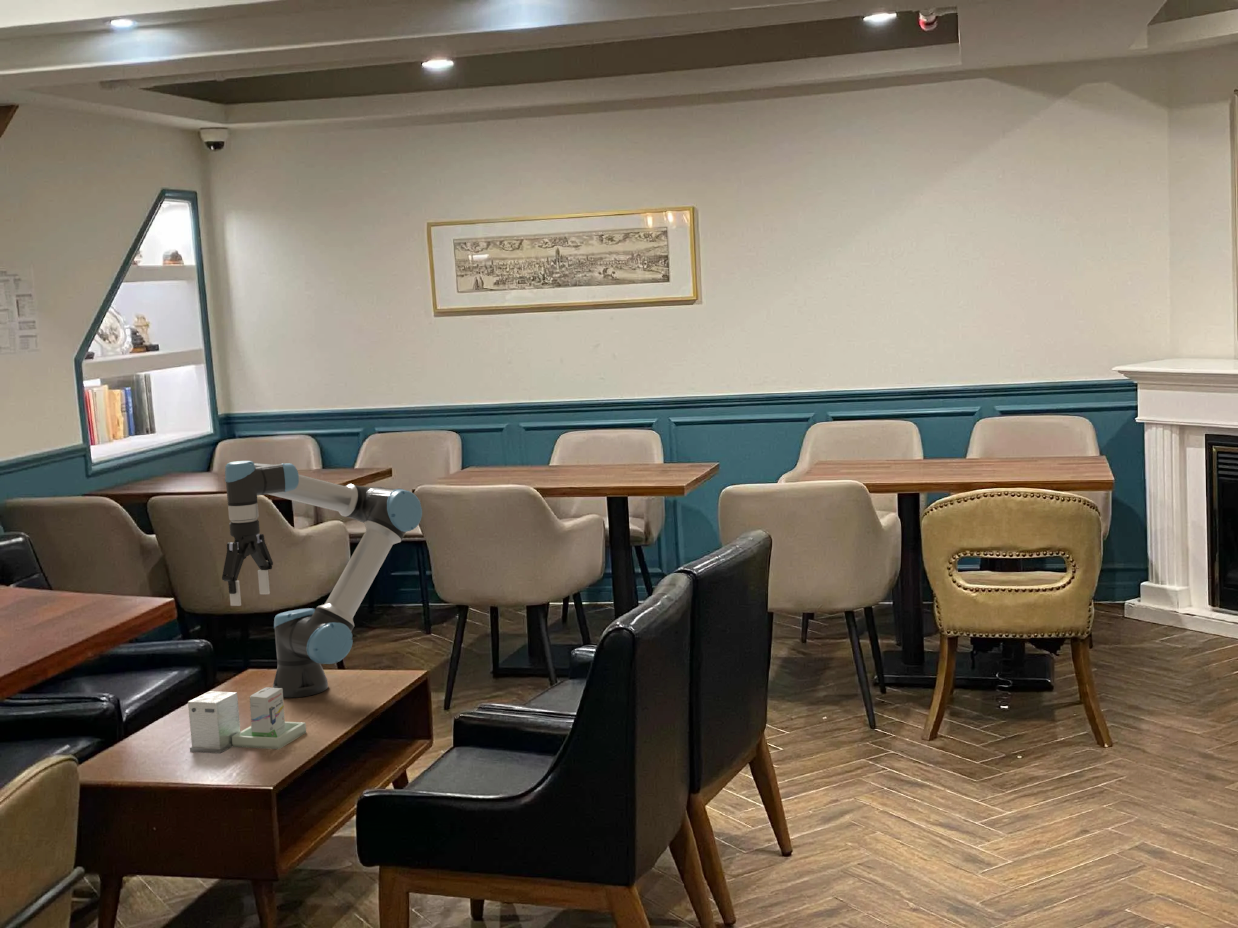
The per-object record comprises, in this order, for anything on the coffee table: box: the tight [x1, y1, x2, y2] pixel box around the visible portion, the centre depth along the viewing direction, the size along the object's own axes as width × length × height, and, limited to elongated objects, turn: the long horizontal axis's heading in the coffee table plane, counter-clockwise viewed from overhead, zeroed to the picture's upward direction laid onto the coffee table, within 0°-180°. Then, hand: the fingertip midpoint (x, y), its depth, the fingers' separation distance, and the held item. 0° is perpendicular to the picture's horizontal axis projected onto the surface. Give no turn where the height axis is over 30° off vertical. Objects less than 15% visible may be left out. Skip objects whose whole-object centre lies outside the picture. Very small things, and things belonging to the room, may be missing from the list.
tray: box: [232, 721, 307, 750], centre depth 330 cm, size 13×13×3 cm
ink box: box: [249, 686, 286, 738], centre depth 329 cm, size 9×5×12 cm, turn 166°
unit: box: [187, 690, 241, 754], centre depth 326 cm, size 10×9×12 cm
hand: (250, 599), depth 346 cm, fingers open, 13 cm apart
